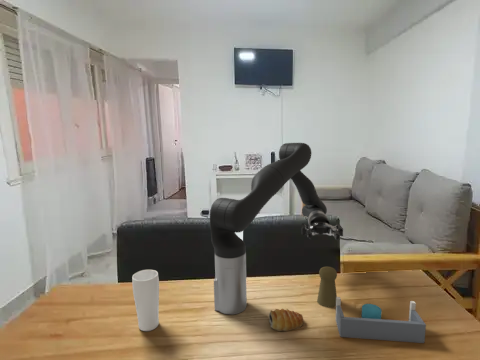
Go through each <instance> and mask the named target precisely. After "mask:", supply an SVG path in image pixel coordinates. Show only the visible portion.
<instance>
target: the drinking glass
mask: <svg viewBox="0 0 480 360" xmlns="http://www.w3.org/2000/svg"><path fill="white" fill-rule="evenodd" d="M131 278H132V279H131V280H132V281H131V282H132V294H133V295H132V296H133V299H134V304H135V311H136V317H137V323H138V325H137V326H138V329H139V330H141V331H143V332H151V331H153V330H155V329H156V328H158V326H159V324H160V322H159V320H160V319H159V318H160V317H159V315H160V314H159V309H160V308H159V307H160V304H159V303H160V279H159V272H158V271H157V270H155V269H142V270H139V271H137V272H135V273H134V274H132V277H131Z"/></svg>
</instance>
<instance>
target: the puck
mask: <svg viewBox="0 0 480 360" xmlns="http://www.w3.org/2000/svg"><path fill="white" fill-rule="evenodd" d="M382 312H383V311H382V308H381V307H380V306H379V305H376V304H373V303H365V304H362V305H361V318H370V319H382Z"/></svg>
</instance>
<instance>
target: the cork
mask: <svg viewBox="0 0 480 360" xmlns="http://www.w3.org/2000/svg"><path fill="white" fill-rule="evenodd" d="M318 271H319V272H318V275H319V277H320V282H319V288H318V295H317V301H316V302H317V304H318V305H320V306H321V307H325V308H329V309H330V308H336V297H338V296H337V288H336V279H337V278H338V272H337V270H336V268H334V267H332V266H323V267H321V268H320V269H319V270H318Z"/></svg>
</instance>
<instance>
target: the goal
mask: <svg viewBox="0 0 480 360" xmlns="http://www.w3.org/2000/svg"><path fill="white" fill-rule="evenodd" d="M341 300H342V298H341V297H340V296H337V297H336V306H335V323H336V327H337V331H338V334H339V337H340V338H352V339H363V340H365V339H366V340H377V341H378V340H379V341H392V342H393V341H394V342H405V343H417V344H418V343H419V344H424V343H425V339H426V327H427V324H426V323H425V322H424V320H423V319H422V317H421V315H420V314H419V313H418V312H417V311H416V308H417V306H416V305H417V302H415V301H414V300H410V301H409V312H408V313H409V314H408V320H398V319H382V318H381V319H370V318H362V317H351V316H345V315H344V313H343V309H342V306H341V303H342V301H341Z"/></svg>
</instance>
